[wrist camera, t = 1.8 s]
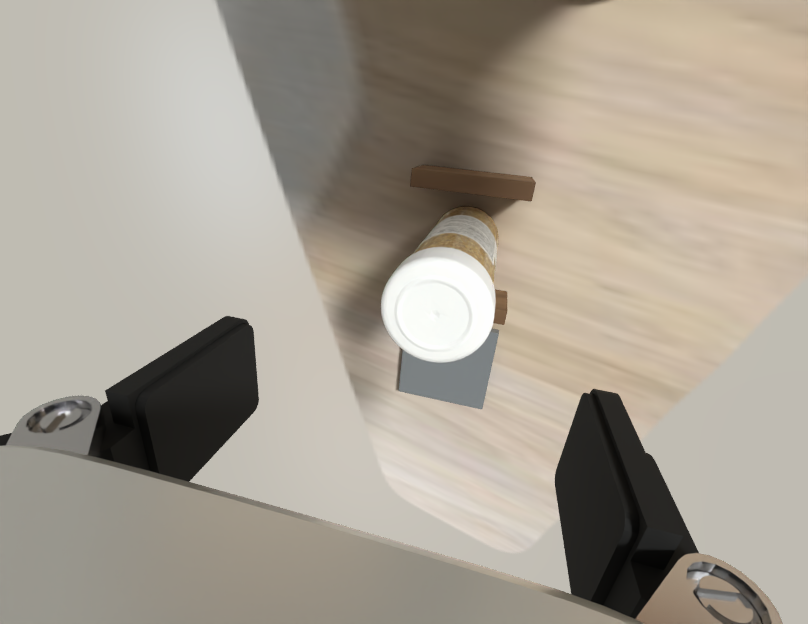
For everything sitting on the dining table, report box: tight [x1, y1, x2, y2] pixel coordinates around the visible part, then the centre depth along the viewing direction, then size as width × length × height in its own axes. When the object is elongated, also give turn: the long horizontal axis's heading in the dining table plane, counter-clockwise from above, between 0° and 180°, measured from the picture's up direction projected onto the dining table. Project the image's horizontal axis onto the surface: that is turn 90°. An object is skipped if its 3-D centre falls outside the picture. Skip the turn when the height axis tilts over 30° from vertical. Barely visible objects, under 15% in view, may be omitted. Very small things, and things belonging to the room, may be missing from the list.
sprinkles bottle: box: [381, 206, 498, 363], centre depth 21 cm, size 5×5×14 cm
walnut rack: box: [410, 165, 536, 325], centre depth 26 cm, size 9×7×4 cm
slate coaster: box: [399, 329, 499, 409], centre depth 31 cm, size 7×7×1 cm
